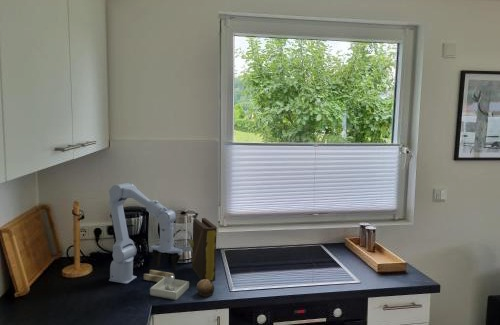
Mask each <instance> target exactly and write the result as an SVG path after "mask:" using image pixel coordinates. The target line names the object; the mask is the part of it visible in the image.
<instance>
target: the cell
mask: <svg viewBox="0 0 500 325" xmlns="http://www.w3.org/2000/svg"><path fill="white" fill-rule="evenodd" d="M175 279H176V275H175V274H167V275H166V276H165V290H169V291H174V290H175Z"/></svg>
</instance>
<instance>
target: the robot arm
mask: <svg viewBox="0 0 500 325" xmlns="http://www.w3.org/2000/svg"><path fill="white" fill-rule="evenodd" d="M108 194H109V201H108V204H109V205H108V206H109V208H110V214H111V219H112V225H113V231H114V235H115V236H114V237H115V243H114V244H113V246H112V258H113V260H112V261H111V263H110V267H109V279H108V281H109V282H113V283H114V282H115V283H121V284H125V285H127V284H129V283H130V282H132V281H134V280H135V279H137V276H136V275H134V270H133V269H134V258H135V256H136V255H137V247H136V246H135V243H134V240H132V239H131V238H130V236H129V232H128V231H129V230H128V227H127V221H126V215H125V211H124V206H123V204H124V203H126V201H127V199H133V201H134V200H135V201H136V203H137V202H138V203H139V204H141V205H143V206H144V207H145V210H146V212H148V213H149V214H150V215H152V216H153V217H155V218H156V219H157V222H158V224H159V245H154V244H153V245H151V246H150V248H149V251H151V253H150V256H151V257H152V259H153V261H154V264H155V268H156V269H159V268H160V267H161V256H162V253H163V254H164V253H167V254H172V255H170V259H171V271H173V272H174V271H176V269H177V265H178V261H179V260H180V258H181V256H182V255H183V252H184V250H183V249H181V248H178V247H175V246H174V232H175V230H174V226H175V224H174V223H175V221H176V220H177V218H178V217H177V216H178V215H177V213H176V212H175V210H174V209H173V208H167V207H166V206H164V205H163V204H161V203H160V201H158V200H157V199H156V200H154V199H153V200H152V199H149V198H148V197H147V196H146V195H145V194H143V193H142V191H140V190H139V189H138V188H137V186H136V185H135V184H133V183H132V182H126V183H125V182H124V183H120V184H113V185H112V186H111V187H110V189H109V190H108Z"/></svg>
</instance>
